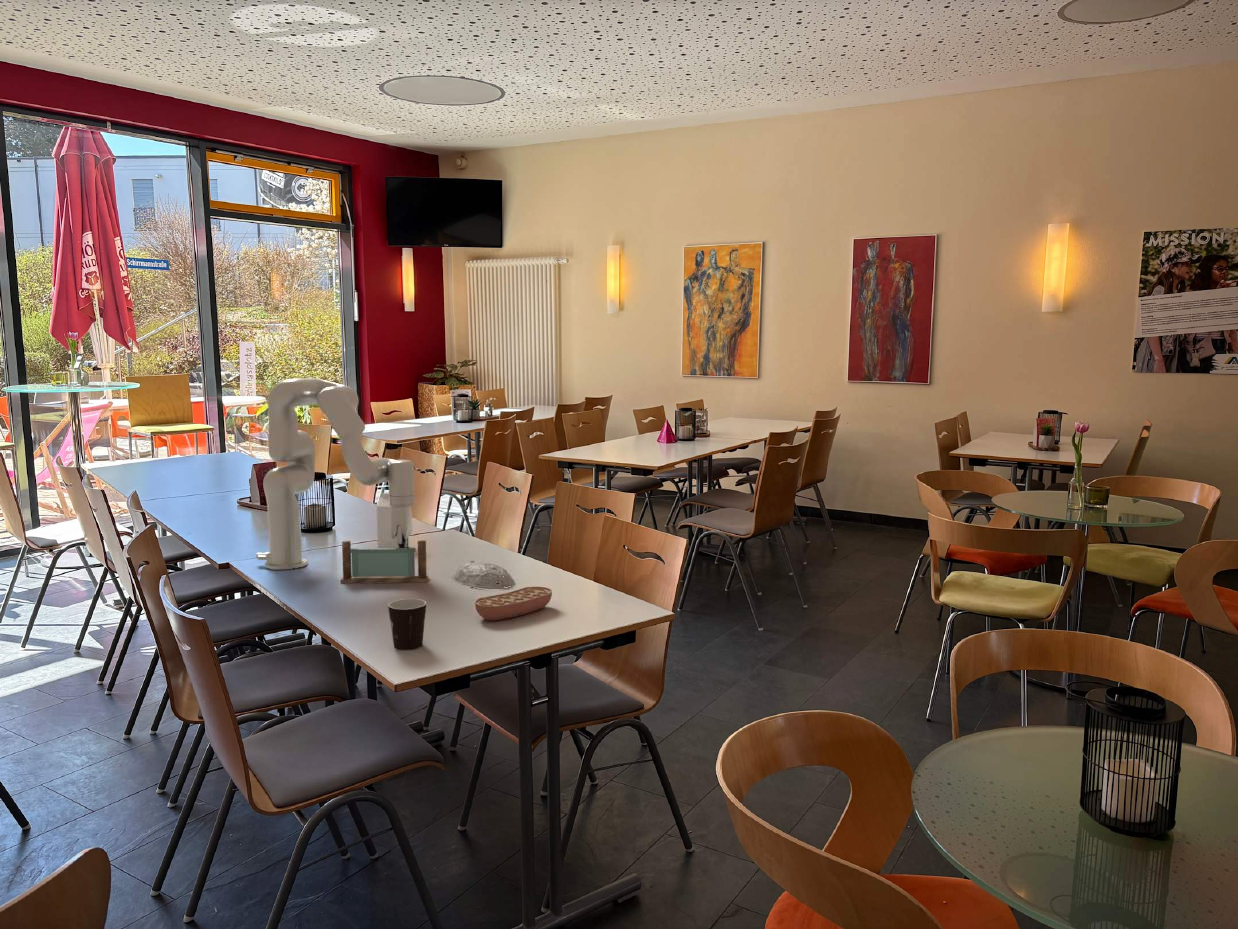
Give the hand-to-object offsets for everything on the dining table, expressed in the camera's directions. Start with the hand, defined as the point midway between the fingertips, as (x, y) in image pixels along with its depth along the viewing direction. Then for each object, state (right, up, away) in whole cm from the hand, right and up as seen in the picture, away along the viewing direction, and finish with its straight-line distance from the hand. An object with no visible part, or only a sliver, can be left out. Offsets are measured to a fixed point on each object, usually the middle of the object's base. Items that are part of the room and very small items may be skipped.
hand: (403, 559), depth 265 cm
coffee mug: (+17, -13, -66) cm, 69 cm away
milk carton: (-13, 0, +38) cm, 40 cm away
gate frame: (-4, -6, -7) cm, 10 cm away
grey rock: (+25, -6, -5) cm, 27 cm away
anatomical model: (+39, -10, -39) cm, 56 cm away
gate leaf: (-4, -4, -8) cm, 10 cm away
